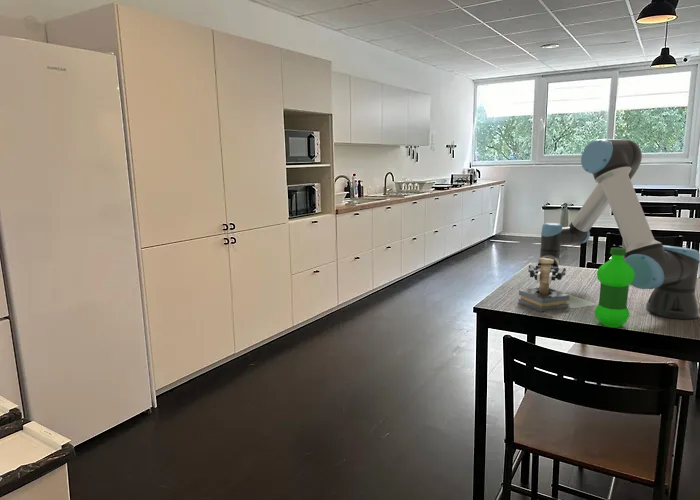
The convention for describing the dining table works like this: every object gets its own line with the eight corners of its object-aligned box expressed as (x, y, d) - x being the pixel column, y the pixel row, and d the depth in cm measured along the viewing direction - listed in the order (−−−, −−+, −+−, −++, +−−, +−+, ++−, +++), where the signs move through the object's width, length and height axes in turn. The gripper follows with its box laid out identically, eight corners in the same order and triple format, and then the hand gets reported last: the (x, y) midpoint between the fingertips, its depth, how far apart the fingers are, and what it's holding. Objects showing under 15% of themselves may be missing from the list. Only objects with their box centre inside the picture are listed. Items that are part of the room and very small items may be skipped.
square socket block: (568, 308, 172) (569, 295, 171) (541, 312, 168) (542, 298, 167) (544, 299, 183) (545, 286, 182) (518, 303, 179) (519, 290, 178)
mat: (598, 305, 176) (598, 304, 176) (572, 309, 172) (572, 308, 172) (569, 295, 189) (569, 294, 189) (544, 298, 185) (544, 297, 185)
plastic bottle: (617, 319, 161) (625, 245, 156) (635, 330, 150) (644, 251, 146) (587, 319, 161) (594, 245, 156) (602, 330, 151) (610, 251, 146)
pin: (553, 301, 174) (556, 260, 171) (542, 303, 172) (545, 261, 170) (543, 297, 179) (546, 257, 176) (532, 299, 177) (535, 258, 174)
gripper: (569, 277, 187) (568, 292, 166) (525, 273, 194) (518, 287, 173) (571, 258, 186) (570, 271, 165) (526, 255, 192) (520, 267, 172)
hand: (543, 279), depth 169 cm, fingers closed on pin, 3 cm apart
